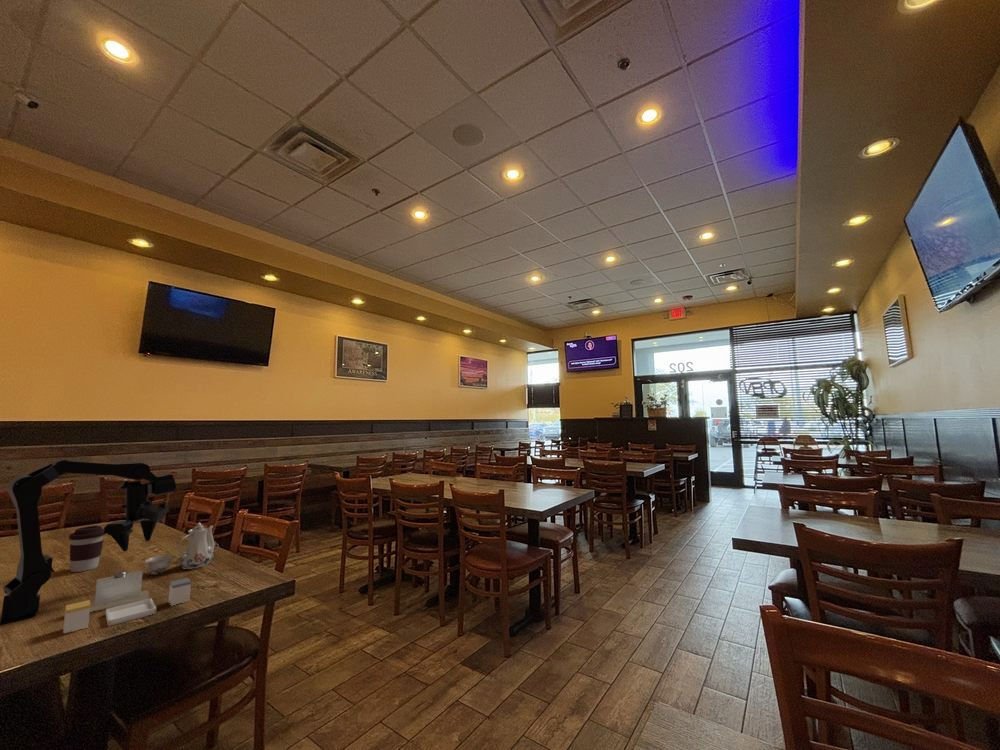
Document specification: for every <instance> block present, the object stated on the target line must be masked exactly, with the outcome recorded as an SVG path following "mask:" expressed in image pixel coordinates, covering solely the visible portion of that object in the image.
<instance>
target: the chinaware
mask: <svg viewBox="0 0 1000 750" xmlns="http://www.w3.org/2000/svg"><path fill="white" fill-rule="evenodd" d="M213 528H214V525H209V527H205V526H204V525H203V524H202V523H201V522H198V523H197V524H196V525H195V526H193V528H192V529H189V530H187V532H188V534H187V535H184V536H183V537H182V538H181V539H180V540H179V542H178V545H177V551H178V553H180V554H181V555H180V556H179V558H178V561H177V563H178V565H180V566H181V569H182V568H185V569H191V568H198V567H202V566H205V565H207V564H208V563H209V564H210V562H211V561H212V559H213V558H214V555H215V554H214V552H215V553H216V552H217V551H218V550H219V549H220V546H219V544H218V543H217V541H215V540H214V536H213V532H212V531H213V530H212V529H213ZM186 538H187V540H188V542H187V545H186V548H185V549H184V551H182V548H181V547H182V544H183V542H184V541H185V539H186ZM216 545H217V549H215V546H216ZM175 558H176V555H173V554H172V553H168V554H165V555H154V556H152V557H149V558H147V559H144V561H143V562H144V563H145V564H146V567H145V569H144V572H145V574H146V575H149V574H151V575H152V574H153V575H157V574H158V573H161V574H163V573H162V572H163V571H165V570H166V569H167V570H168V568H169V567H170V566H171V565H172V562H173V560H174V559H175ZM207 566H208V565H207ZM205 567H206V566H205ZM202 568H203V567H202ZM198 569H199V568H198ZM148 570H149V571H150V572H148ZM154 572H155V573H154ZM158 575H159V574H158Z"/></svg>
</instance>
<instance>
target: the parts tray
mask: <svg viewBox="0 0 1000 750" xmlns="http://www.w3.org/2000/svg"><path fill="white" fill-rule="evenodd" d="M152 614H153V615H155V614H157V606H156V605H155V602H154V600H153V599H152V598H151V597H149V598H148V599H144V600H140V601H136V602H132V603H128V604H124V605H119V606H115V607H111V608H107V609H105V619H106V622H107V627H108V626H109V627H112V626H115V625H120V624H123V623H127V622H130V621H134V620H138V619H142V618H146V617H149V615H150V616H153V615H152Z"/></svg>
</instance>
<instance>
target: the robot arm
mask: <svg viewBox="0 0 1000 750" xmlns="http://www.w3.org/2000/svg"><path fill="white" fill-rule="evenodd" d="M64 474H81V475H83V474H84V475H102V476H113V477H119V478H123V479H124V478H125V479H129V480H133V481H127V480H122V482H121V483H120V484H119V485H117V486H116V488H117V489H119V490H124V491H125V496H124V497H125V503H123V504H122V505H121V508H122V509H124V508H125V511H124V512H125V514H124V515H125V516H122V517H121V520H116V521H113V522H109V523H107V524H106V525H105V526H104V527H103V529H104V534H105V535H106V534H107V536H111V538H112V539H113V540H114V541H115V542H116V543H117V544H118V546H119V548H120V549H121V550H122V552H127V551H128V549H129V545H130V544H129V540H130V535H131V534H132V532H133V531H134V529H133V527H134V525H135V524H138V523H140V527H141V530H142V531H141V532H142V534H143V537H144V541H145V542H150V541H151V538H152V535H153V533H154V531H155V528H156V525H157V524H158V523H159V522H161V520H163V519H164V518H165V517H166V516H167V513H169V511H170V510H169V508H170V507H169V503H167V502H162V503H160V504H155V505H154V504H153V500H151V499H149V495H150V494H151V495H152V496H153V497H157V496H160V495H161V496H162V495H167V494H172V493H175V491H176V489H177V483H176V481H175V478H174V474H173V473H167V474H163V475H157V476H156V475H155V474H154V473H153V472H151V467H150V466H149V464H148V463H144V462H141V461H132V462H131V461H129V462H128V461H127V462H120V463H119V462H118V463H107V462H91V461H90V462H89V461H77V460H76V461H75V460H67V459H56V460H54V461H52V462H51V463H49V464H47V465H44V466H43V467H41V468H38V469H36V470H34V471H31V472H30V473H28V474H24V475H22V474H21V475H18V476H15V477H13V478H12V479H11V480H10V481H8V483H7V486H6V489H7V492H8V494H9V497H10V499H11V501H12V503H13V506H14V507H15V510H16V520H17V529H18V531H17V532H18V539H19V550H20V551H19V552H20V558H19V561H18V564H17V568H16V574H15V577H14V578H13V579H12V580H10V581H9V582H8V583H7V584H6V585H4V586H3V587H2V589H3V592H4V594H5V595H4V597H3V599H2V608H1V617H0V625H3V624H8V623H11V622H16V621H21V620H24V619H29V618H34V617H35V616H36V614H37V613H38V612H39V607H40V602H41V601H40V600H41V594H38V593H39V591H40V590H41V588H42V586H44V585H45V584H46V583H47V582H48V581H49V580H51V577H52V573H54V572H55V569H53V559H54V558H53V557H52V556H50V555H48V554H45V555H44V554H43V551H42V550H43V549H42V540H41V539H42V537H41V530H40V518H39V509H38V508H39V507H38V505H39V503H40V499H41V496H42V490H43V487H45V486H46V485H48V484H49V483H52V482H53V481H54V480H56V479H58V478H59V477H60V476H62V475H64ZM141 481H145V482H141Z"/></svg>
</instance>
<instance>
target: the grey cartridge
mask: <svg viewBox="0 0 1000 750" xmlns="http://www.w3.org/2000/svg"><path fill="white" fill-rule="evenodd" d="M191 587H192V580H191V579H190V578H189V577H185V578H181V579H175V580H171V581H170V582H169V590H168V601H167V603H168V604H169V603H170V604H169V606H170V605H171V606H172V607H174V606H173V605H175V606H177V605H176V604H179V603H183V604H185V603H184V602H187V601H191V600H190V599H191ZM187 603H188V602H187ZM179 605H180V604H179ZM171 606H170V607H171Z"/></svg>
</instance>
